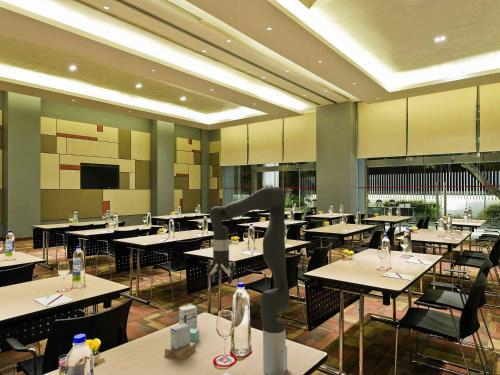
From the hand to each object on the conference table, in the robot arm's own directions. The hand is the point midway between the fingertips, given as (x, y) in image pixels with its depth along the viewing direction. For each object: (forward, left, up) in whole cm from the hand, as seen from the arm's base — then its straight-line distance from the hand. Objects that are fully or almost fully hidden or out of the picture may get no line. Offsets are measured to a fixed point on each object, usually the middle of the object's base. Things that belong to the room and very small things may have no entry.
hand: (221, 283), depth 170 cm
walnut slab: (+15, +12, -31) cm, 36 cm away
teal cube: (+17, -1, -30) cm, 34 cm away
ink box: (+26, -12, -30) cm, 42 cm away
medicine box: (+15, +12, -27) cm, 33 cm away
